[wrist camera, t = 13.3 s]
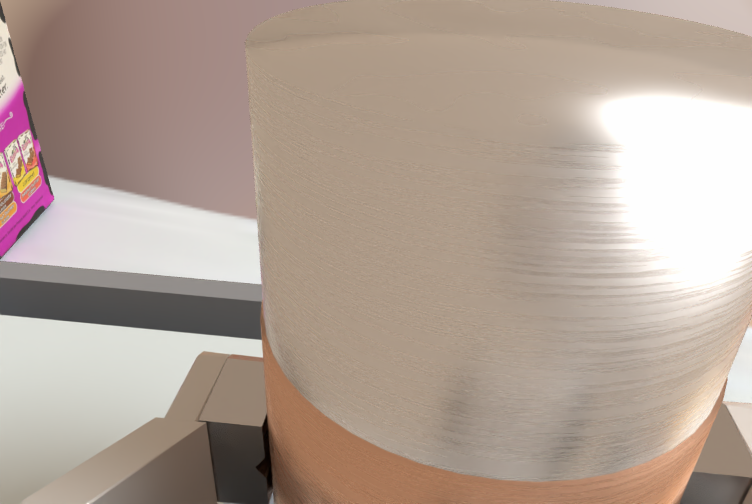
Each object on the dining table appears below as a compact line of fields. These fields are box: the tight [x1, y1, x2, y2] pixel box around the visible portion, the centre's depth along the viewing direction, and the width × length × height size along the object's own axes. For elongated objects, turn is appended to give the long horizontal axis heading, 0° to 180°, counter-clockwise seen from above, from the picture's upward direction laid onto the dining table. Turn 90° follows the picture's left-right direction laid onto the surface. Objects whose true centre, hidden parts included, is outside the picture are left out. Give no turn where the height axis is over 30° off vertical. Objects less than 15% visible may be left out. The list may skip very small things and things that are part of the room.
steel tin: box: [245, 0, 752, 504], centre depth 11 cm, size 6×6×14 cm
